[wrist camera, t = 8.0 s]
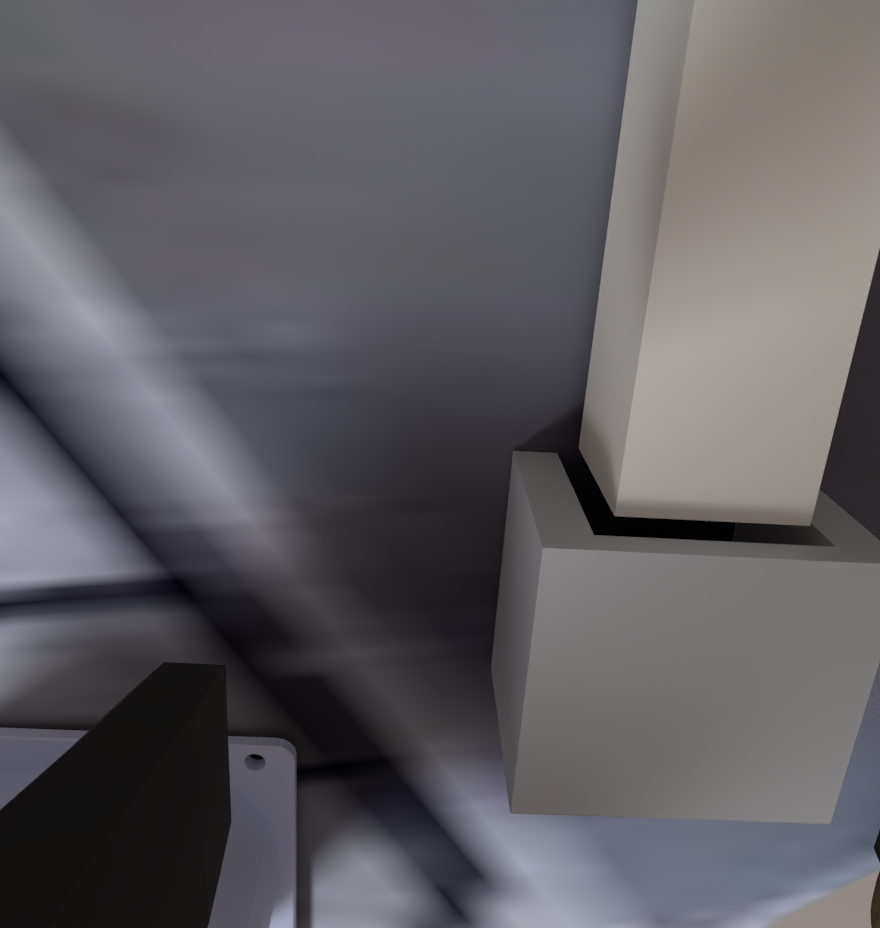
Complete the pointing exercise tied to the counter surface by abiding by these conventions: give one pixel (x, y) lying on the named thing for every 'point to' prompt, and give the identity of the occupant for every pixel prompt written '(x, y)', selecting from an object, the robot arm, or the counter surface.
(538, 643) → the sleeve
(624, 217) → the white bar teal band
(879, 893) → the potato
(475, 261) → the counter surface
